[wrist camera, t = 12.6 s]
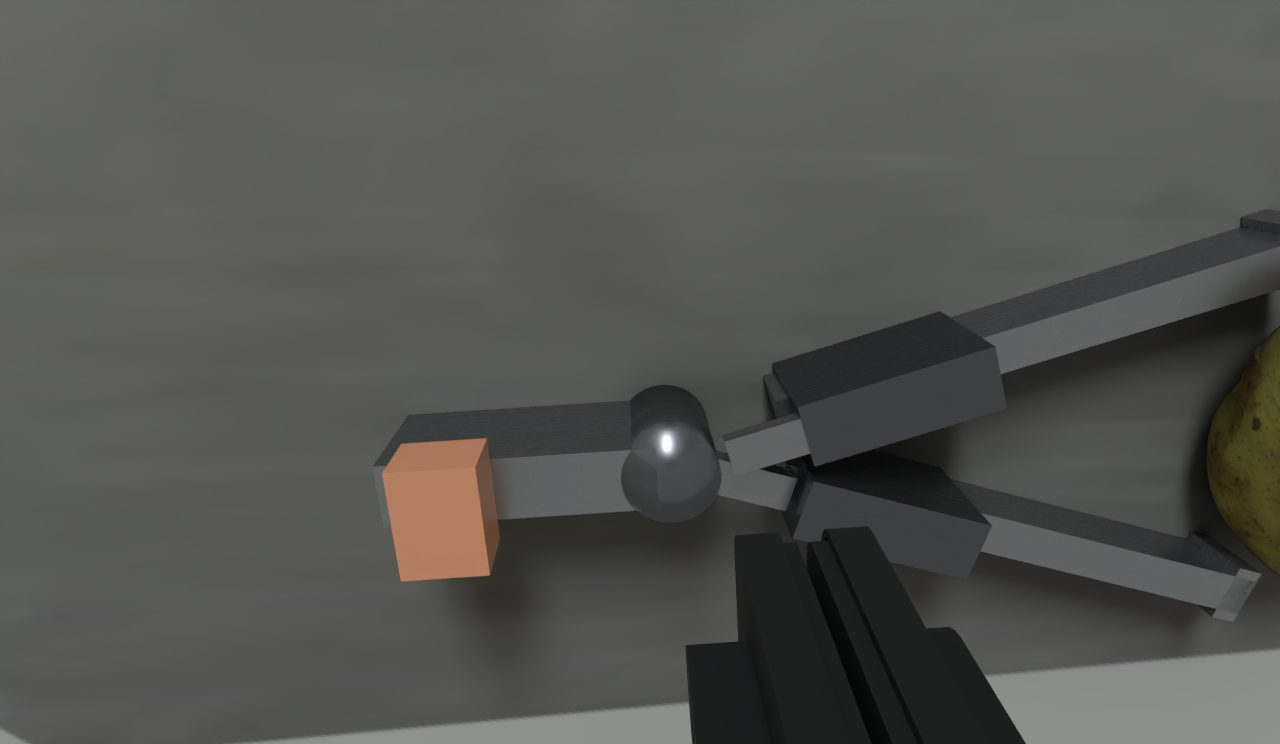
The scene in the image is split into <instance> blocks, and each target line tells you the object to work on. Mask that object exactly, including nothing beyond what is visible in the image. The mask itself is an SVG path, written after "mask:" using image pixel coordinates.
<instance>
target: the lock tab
mask: <svg viewBox="0 0 1280 744" xmlns="http://www.w3.org/2000/svg"><path fill="white" fill-rule="evenodd" d="M382 477H383V482H384V488H385V494H386V499H387V505H388V511H389V516H390V522H391V528H392V533H393V539H394V544H395V550H396V556H397V561H398V567H399V573H400V578H401V581H414V580H429V579H445V578H460V577H475V576H490V574H491V570H492V566H493V563H494V559H495V556H496V552H497V549H498V545H499V541H500V535H499V527H498V519H497V512H496V504H495V496H494V489H493V481H492V473H491V465H490V458H489V450H488V442H487V438H483V439H468V440H453V441H437V442H422V443H407V444H401V445H400V447H399V448H398V450H397V451H396V453H395V454H394V456H393V457H392V459H391V460H390V462H389V463H388V465H387V466H386V468H385V470H384V471H383V473H382Z"/></svg>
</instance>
